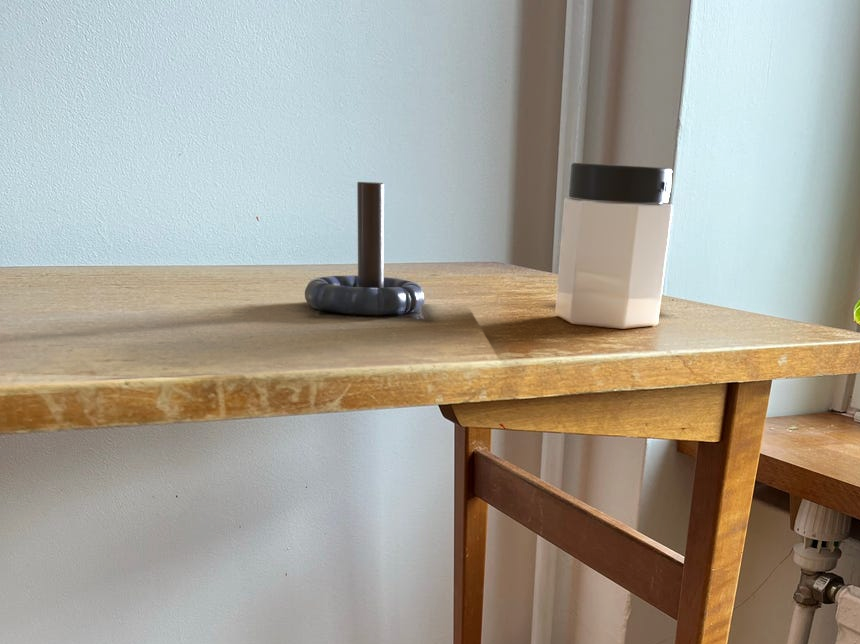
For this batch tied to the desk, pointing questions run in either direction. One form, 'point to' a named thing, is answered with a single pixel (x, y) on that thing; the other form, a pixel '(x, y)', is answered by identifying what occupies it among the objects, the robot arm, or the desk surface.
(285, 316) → the desk surface
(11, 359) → the desk surface
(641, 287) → the jar
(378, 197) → the post
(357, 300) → the ring
